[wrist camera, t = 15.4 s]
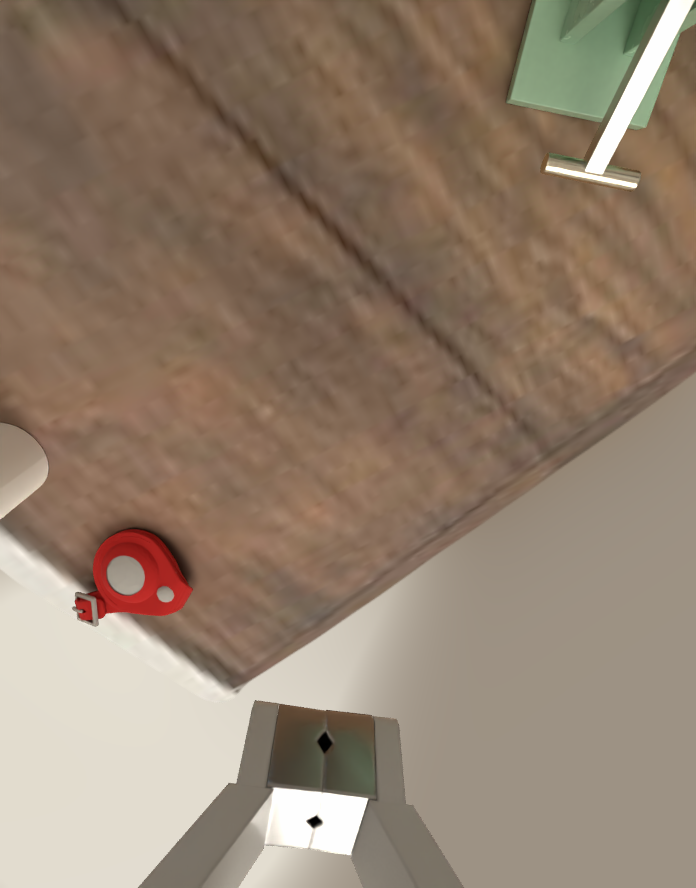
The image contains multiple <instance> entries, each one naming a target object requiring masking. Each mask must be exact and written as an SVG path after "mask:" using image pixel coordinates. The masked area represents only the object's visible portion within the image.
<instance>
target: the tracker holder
mask: <svg viewBox="0 0 696 888" xmlns="http://www.w3.org/2000/svg"><path fill="white" fill-rule="evenodd" d="M93 575H94V580H95V584H96V586H97V588H98V590H99V591H94V592H91V593H88V594H84V593H81V592H76V593H75V599H76V600H75V604H76V607H73V608H72V609H73V610H74V611H76V612H77V619H78V620H79V621H82V622H85V623H87V624H90V625H92V626H95V627H96V626H98V625H99V623H98V619H101V618H103V617H104V616H105V614H106V613H115V612H129V613H135V614H143V615H155V616H163V615H168V614H171V613H174V612H176V611H178V610H180V609H181V608H183V606H184V604H185V603H186V601H187V599H188V597H189V596H190V594H191V592H192V591H193V589H192V588H191V587H190V586H189V585H188V583H187V581H186V579H185V578H184V576H183V575H182V573H181V571H180V569H179V567H178V564H177V562H176V560H175V558H174V557H173V555H172V554H171V552H170V551H169V549H168V548H167V547H166V545H165V544H164V543H163V542H162V541H161V540H160V539H159V538H158V537H157V536H155V535H154V534H152V533H150V532H147V531H144V530H139V529H129V530H124V531H121V532H119V533H117V534H115V535H113V536H111V537H109V538H108V539H107V540H105V541H104V542H103V543H102V544H101V546H100V547H99V549H98V551H97V553H96V555H95V558H94V563H93Z"/></svg>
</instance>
